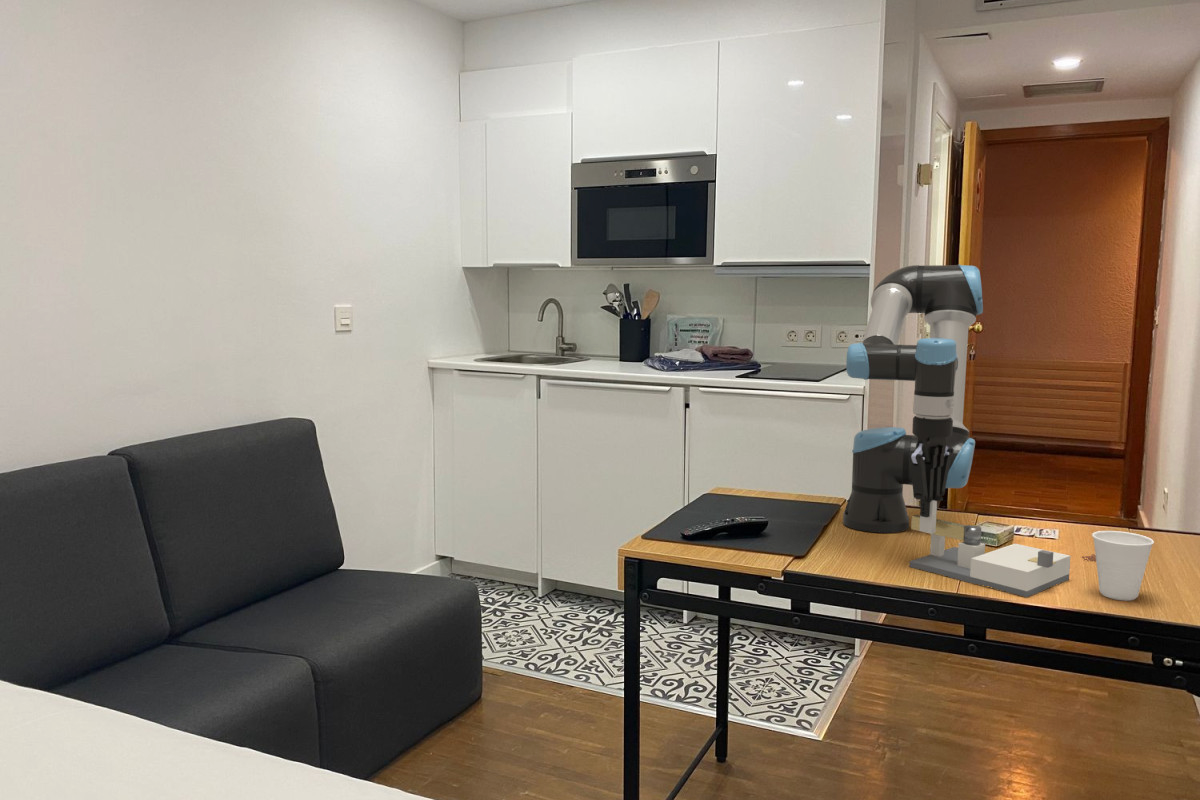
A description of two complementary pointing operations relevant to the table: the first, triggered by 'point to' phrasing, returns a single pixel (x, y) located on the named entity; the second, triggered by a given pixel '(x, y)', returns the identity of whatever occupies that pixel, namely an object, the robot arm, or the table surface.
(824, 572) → the table surface
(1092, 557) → the key
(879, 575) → the table surface
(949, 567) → the door board
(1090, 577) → the table surface
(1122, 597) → the cup
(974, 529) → the latch bar
